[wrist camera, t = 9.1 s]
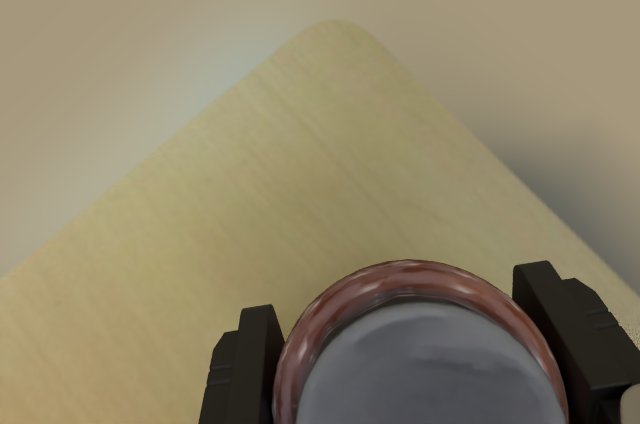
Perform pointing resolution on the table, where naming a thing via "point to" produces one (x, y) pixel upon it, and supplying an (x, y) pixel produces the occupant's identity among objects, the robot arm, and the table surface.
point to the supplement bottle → (416, 354)
